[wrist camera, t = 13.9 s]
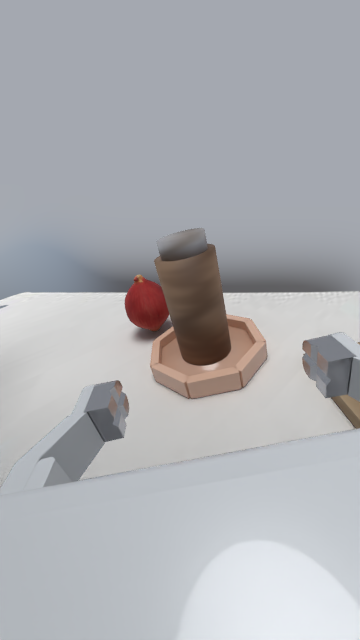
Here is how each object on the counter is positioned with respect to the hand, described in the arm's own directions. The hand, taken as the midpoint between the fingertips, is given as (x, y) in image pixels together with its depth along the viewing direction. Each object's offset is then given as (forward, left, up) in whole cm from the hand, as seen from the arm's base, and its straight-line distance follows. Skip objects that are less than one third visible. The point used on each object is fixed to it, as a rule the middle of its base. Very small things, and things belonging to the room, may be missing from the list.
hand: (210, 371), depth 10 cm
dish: (0, +12, -8) cm, 15 cm away
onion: (-6, +20, -8) cm, 22 cm away
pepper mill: (0, +12, -7) cm, 14 cm away
